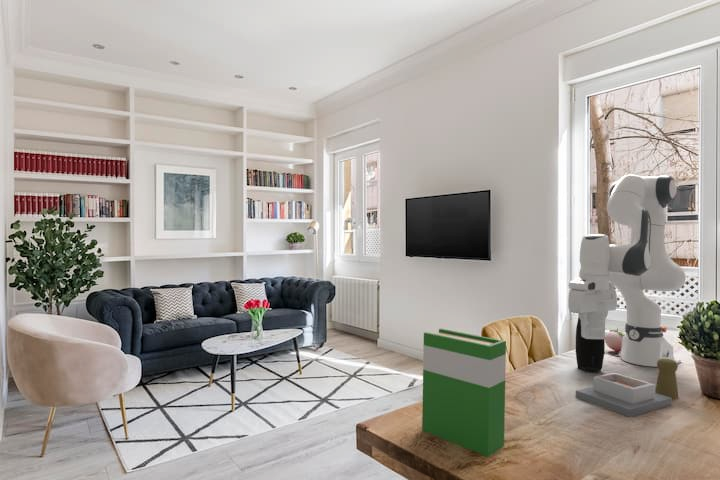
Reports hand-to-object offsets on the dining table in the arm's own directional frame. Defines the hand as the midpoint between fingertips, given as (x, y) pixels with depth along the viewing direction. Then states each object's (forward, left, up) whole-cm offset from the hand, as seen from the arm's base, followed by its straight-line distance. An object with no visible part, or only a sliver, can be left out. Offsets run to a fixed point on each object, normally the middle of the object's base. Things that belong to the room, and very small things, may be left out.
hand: (593, 325), depth 144 cm
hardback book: (+65, +12, -19) cm, 69 cm away
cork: (-11, +17, -19) cm, 28 cm away
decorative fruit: (-46, -21, -19) cm, 54 cm away
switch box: (+6, +14, -19) cm, 25 cm away
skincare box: (0, 0, -4) cm, 4 cm away
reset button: (+6, +14, -17) cm, 23 cm away
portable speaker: (-13, -10, -19) cm, 25 cm away
